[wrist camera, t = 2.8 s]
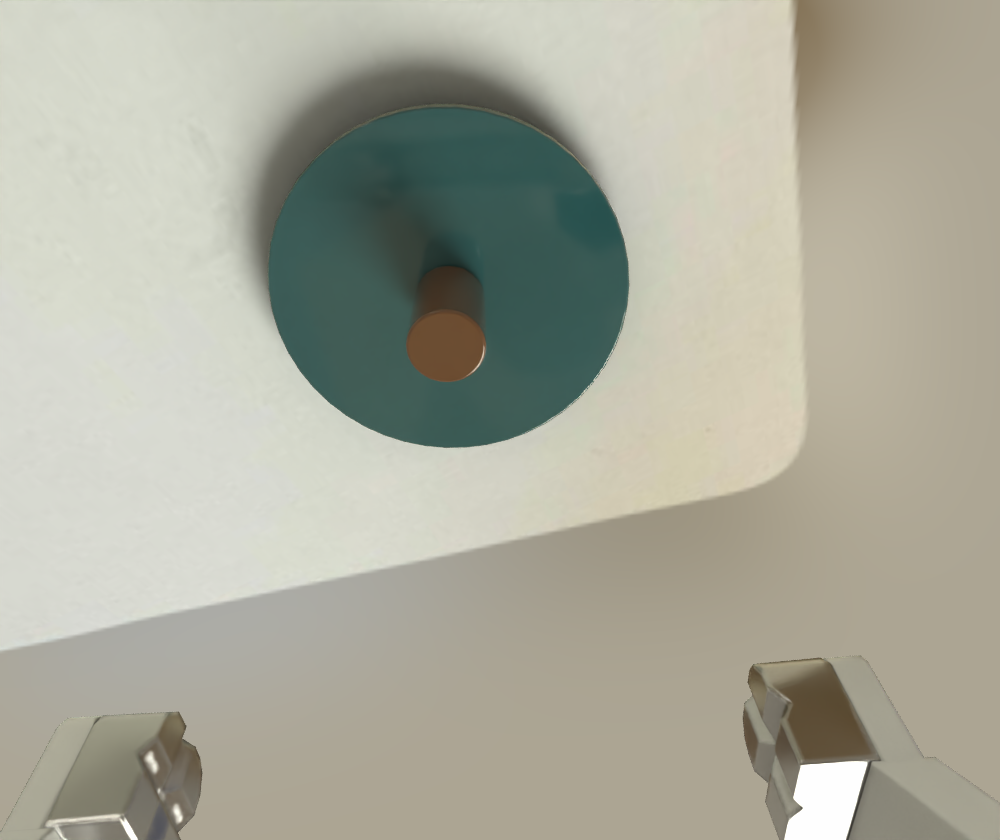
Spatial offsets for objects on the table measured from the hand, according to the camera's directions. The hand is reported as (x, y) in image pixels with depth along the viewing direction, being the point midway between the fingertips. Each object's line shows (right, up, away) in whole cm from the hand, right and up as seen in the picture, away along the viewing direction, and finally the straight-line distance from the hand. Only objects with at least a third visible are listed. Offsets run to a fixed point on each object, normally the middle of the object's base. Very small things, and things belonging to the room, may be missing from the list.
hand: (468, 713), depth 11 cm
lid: (-1, +8, +13) cm, 16 cm away
